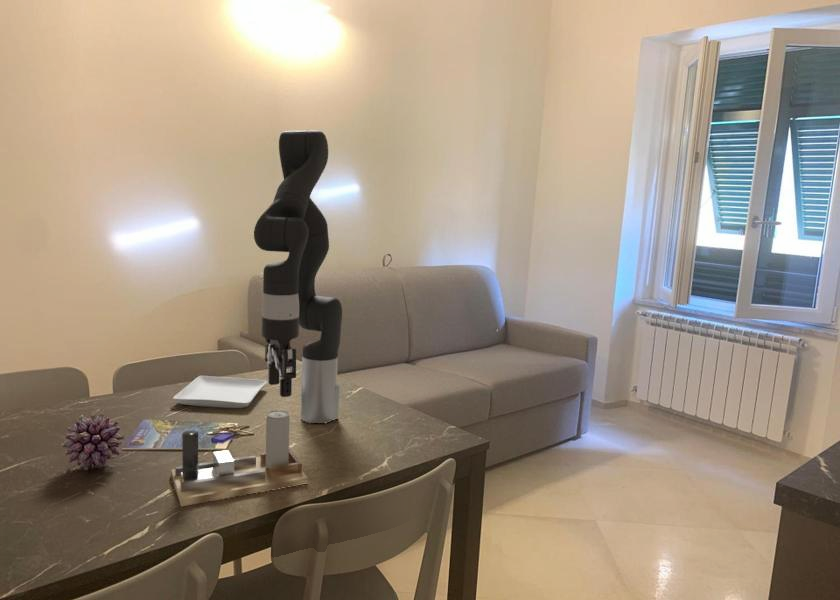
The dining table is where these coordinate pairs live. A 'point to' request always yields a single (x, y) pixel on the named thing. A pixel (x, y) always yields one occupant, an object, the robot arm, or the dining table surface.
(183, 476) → the press block
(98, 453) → the flower
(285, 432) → the beverage can
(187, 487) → the wooden tray
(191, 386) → the salad plate
